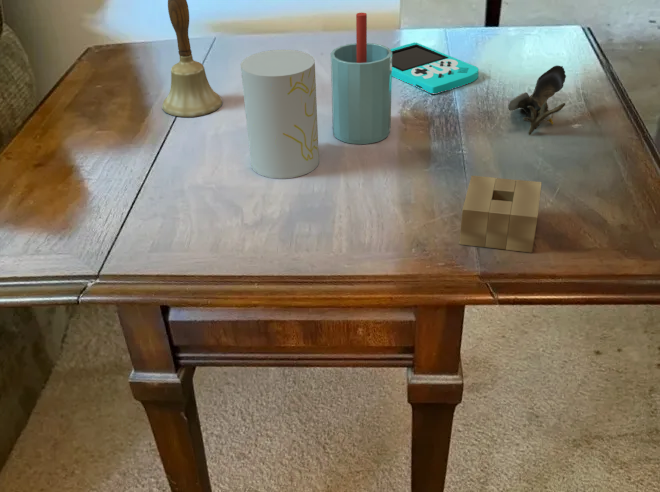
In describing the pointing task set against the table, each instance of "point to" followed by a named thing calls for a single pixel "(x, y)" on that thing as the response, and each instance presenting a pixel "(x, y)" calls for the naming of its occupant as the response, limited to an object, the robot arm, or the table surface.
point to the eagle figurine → (540, 98)
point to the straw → (361, 37)
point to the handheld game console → (430, 68)
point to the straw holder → (500, 213)
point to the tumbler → (361, 94)
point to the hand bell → (187, 73)
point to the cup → (281, 112)
